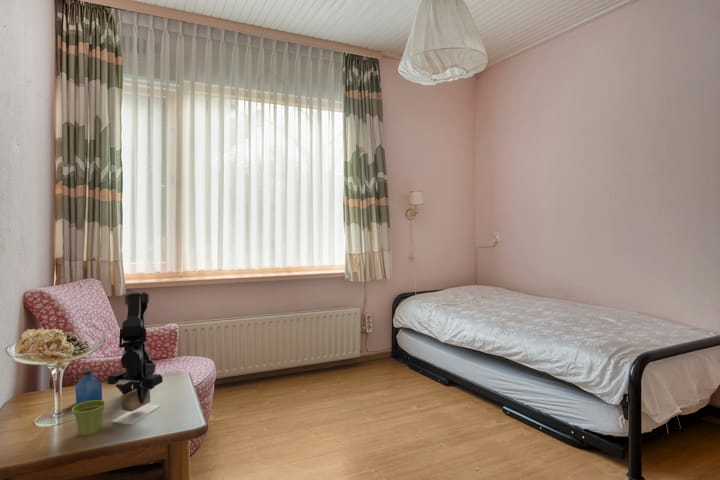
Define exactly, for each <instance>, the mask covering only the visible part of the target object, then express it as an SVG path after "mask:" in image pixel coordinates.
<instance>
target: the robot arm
mask: <svg viewBox="0 0 720 480" xmlns="http://www.w3.org/2000/svg"><path fill="white" fill-rule="evenodd" d="M149 304H150V294H149V293H147V292H145V291H143V292H130V293H127V294H126V295H124V306H127V314H126V315H127V316H126V319H125V320H124V321H123V322H122V324H121V325H122V326H121V328H120V329H119V341H118V344H119V345H118V346H119V349H122V348H124V349H123V352H122V353H123V354H122V356H121V358H120V364H121V366H122V368H124V369H125V371H116V372H114V373H112V374H110V375H108V377H107V385H115V384H116V385H115V388H117V389H118V390H119V391H120V392H121V393H122V395H124V394H126V393H128V392H130V391H133V390H135V389H137V393H138V397H139V401H140V403H141V404H143V403H144V401H145V398H146V394H147V392H148V389H150V390H151V389H153V388H154V387H156V386H158V385H160V384H162V383H163V382H164V381H163V379H164V378H163V375H161V374H156V367H157V364H155V362H154V361H153V359H151V354H150V352H149V351H148V350H147V349H146V342H147V329H146V326H145V313H146V311H147V309H148V308H149Z"/></svg>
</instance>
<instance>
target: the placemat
mask: <svg viewBox="0 0 720 480" xmlns="http://www.w3.org/2000/svg"><path fill="white" fill-rule="evenodd" d="M160 407H161V405H155V404H146V405H144V406H142V407H140V408H138V409H136V410H134V411H132V412H131V411H127V412H126V413H123V414H122V415H120V416H118V417H116V418H115V419H113V420H112V421H111V423H114V424H115V423H116V424H125V425H130V426H131V425H133V424H135V423H136V422H138V421H139V420H141V419H143V418H144V417H146V416H148V415H149V414H151V413H154V411H157V408H158V409H160Z"/></svg>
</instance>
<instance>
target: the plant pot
mask: <svg viewBox="0 0 720 480" xmlns="http://www.w3.org/2000/svg"><path fill="white" fill-rule="evenodd" d="M106 403H107V402H106V401H105V400H103V399H102V400H92V401H87V402H83V403H80V404H78V403H77V404H76V405H74V406H73V407H72V408H71V412H72V413H73V416H74V417H75V422H76V426H77V431H78V435H80V436H92V435H96V434H97V433H99V432H100V430H102V423H103V412H104V410H105V405H106Z"/></svg>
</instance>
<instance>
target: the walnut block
mask: <svg viewBox="0 0 720 480" xmlns="http://www.w3.org/2000/svg"><path fill="white" fill-rule="evenodd" d="M150 390H151V389H148V392H147V394H146V398H145V401H144V403H143V404H141V403H140V401H139V397H138V393H137V389H135V390H133V391H130V392H128V393H126V394H124V395H123V394H122V395H121V396H120V399H121V411H127V412H129V411H131V412H132V411H134V410H136V409H138V408H140V407H142V406H144V405H146V404H147V405H149V404H150V403H151V394H150V393H151V391H150Z"/></svg>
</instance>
